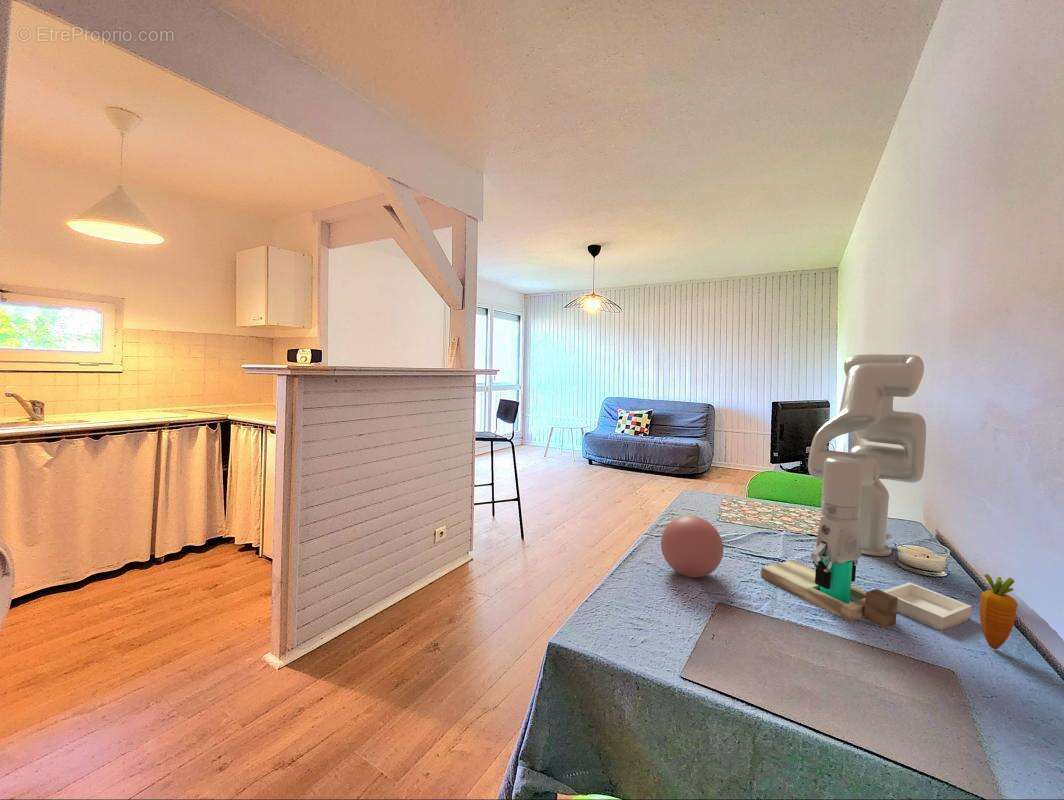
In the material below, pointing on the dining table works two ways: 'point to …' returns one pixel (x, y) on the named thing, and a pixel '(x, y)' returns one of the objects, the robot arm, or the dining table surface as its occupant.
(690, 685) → the dining table surface
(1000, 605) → the carrot
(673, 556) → the brown egg
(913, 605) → the tray
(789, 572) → the wooden slotted peg board
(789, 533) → the dining table surface
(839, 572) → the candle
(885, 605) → the block
